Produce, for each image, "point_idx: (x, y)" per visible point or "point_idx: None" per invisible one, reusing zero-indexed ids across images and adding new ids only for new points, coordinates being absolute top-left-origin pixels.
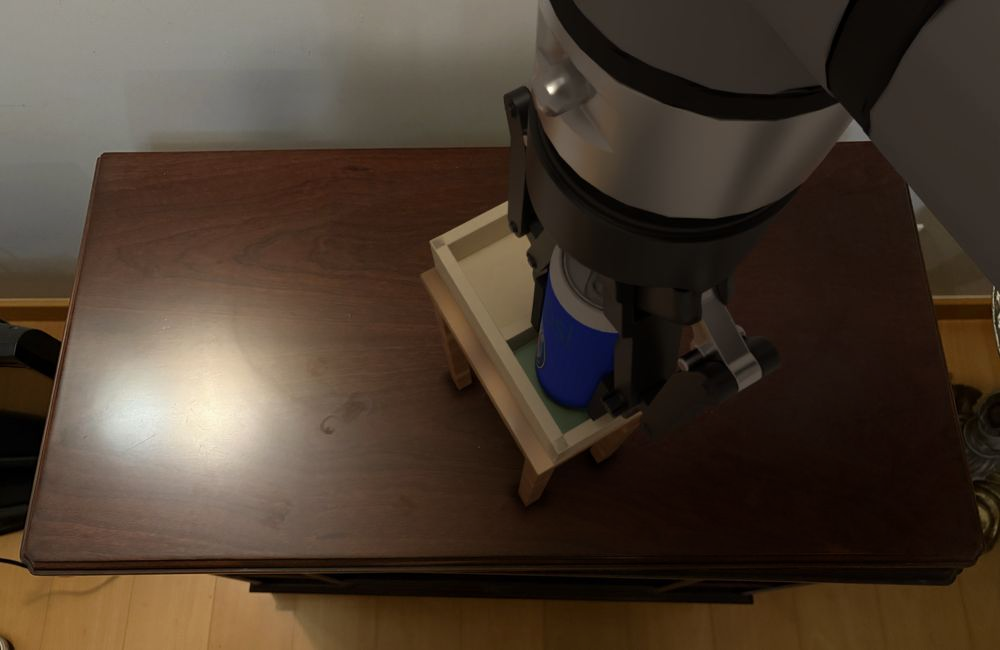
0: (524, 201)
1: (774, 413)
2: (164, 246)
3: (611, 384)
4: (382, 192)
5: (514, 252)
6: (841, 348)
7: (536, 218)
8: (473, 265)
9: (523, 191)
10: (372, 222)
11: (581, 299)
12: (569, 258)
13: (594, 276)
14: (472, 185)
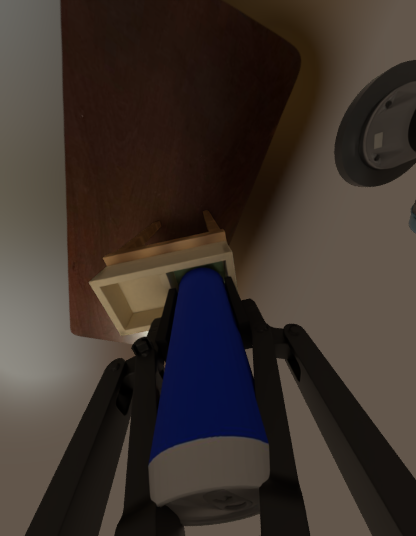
0: (117, 461)
1: (214, 128)
2: (103, 323)
3: (247, 345)
4: (85, 259)
5: (130, 286)
6: (195, 66)
7: (126, 386)
8: (135, 304)
9: (109, 493)
10: (99, 265)
11: (240, 518)
12: (195, 517)
13: (221, 507)
14: (82, 224)
